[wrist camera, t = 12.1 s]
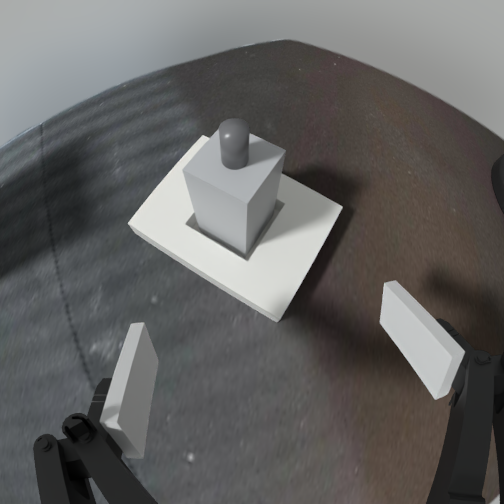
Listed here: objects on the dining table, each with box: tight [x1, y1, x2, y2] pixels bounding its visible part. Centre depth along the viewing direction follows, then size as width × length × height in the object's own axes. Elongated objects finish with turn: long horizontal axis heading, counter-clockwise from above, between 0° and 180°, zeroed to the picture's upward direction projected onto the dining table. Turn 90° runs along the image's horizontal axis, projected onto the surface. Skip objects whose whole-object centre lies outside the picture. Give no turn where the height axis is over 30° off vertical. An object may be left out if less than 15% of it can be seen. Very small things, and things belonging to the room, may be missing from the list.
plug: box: [182, 118, 286, 258], centre depth 23 cm, size 6×5×13 cm
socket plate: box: [128, 135, 343, 322], centre depth 28 cm, size 16×12×3 cm
